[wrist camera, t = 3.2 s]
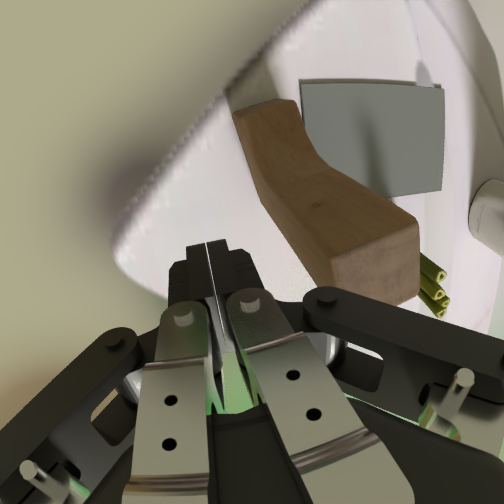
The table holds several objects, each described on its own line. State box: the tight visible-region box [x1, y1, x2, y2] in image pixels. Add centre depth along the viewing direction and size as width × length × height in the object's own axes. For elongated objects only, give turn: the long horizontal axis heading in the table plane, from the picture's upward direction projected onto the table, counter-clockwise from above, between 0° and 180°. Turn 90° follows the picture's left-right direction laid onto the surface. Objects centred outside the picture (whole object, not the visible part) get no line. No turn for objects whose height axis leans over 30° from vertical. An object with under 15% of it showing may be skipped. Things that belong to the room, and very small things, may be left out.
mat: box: [300, 83, 445, 198], centre depth 29 cm, size 17×12×1 cm
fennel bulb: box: [417, 252, 450, 318], centre depth 30 cm, size 6×5×12 cm
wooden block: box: [233, 99, 420, 306], centre depth 20 cm, size 9×4×18 cm, turn 18°
